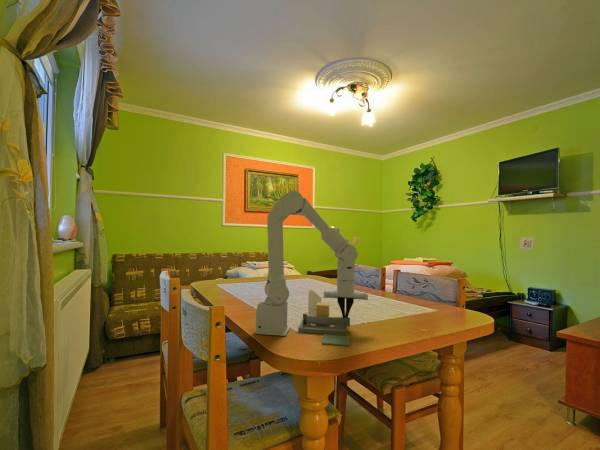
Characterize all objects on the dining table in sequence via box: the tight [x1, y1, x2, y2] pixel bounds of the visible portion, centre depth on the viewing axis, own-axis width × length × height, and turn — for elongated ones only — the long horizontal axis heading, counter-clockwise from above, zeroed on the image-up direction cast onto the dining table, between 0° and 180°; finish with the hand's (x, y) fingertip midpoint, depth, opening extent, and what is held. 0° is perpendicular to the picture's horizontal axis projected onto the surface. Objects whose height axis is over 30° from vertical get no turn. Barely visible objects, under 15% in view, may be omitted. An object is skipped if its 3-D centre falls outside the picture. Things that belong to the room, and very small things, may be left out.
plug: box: [314, 302, 331, 326], centre depth 99 cm, size 5×5×7 cm
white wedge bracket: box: [307, 289, 322, 316], centre depth 107 cm, size 4×10×9 cm
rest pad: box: [321, 334, 351, 347], centre depth 84 cm, size 8×7×1 cm
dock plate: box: [297, 319, 348, 336], centre depth 96 cm, size 15×14×1 cm
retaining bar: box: [302, 313, 351, 328], centre depth 94 cm, size 15×1×3 cm, turn 81°
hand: (345, 320), depth 97 cm, fingers closed
